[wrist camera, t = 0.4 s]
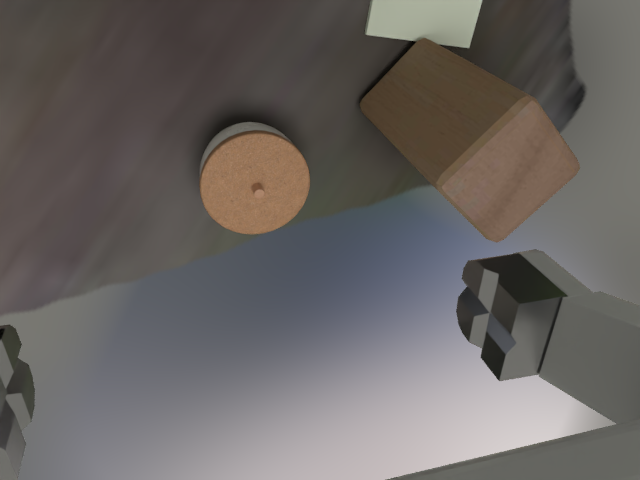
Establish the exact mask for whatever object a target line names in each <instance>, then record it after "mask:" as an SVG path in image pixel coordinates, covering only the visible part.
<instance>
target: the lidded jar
mask: <svg viewBox="0 0 640 480" xmlns="http://www.w3.org/2000/svg"><path fill="white" fill-rule="evenodd" d="M199 179H200V185H199V187H200V194H201V198H202V201H203V204H204V206H205V208H206V210H207V212H208V213H209V214H210V216H211V217H212V218H213V219H214V220H215V221H216V222H217V223H219V224H220V225H222V226H223V227H225V228H227V229H229V230H231V231H234V232H238V233H243V234H260V233H266V232H269V231H272V230H275V229H277V228H279V227H281V226H283V225H284V224H286V223H287V222H289V221H290V220H291V219H292V218H293V217H294V216H295V215H296V214H297V213H298V212H299V211H300V209H301V208H302V206H303V205H304V203H305V200H306V198H307V195H308V192H309V186H310V174H309V169H308V166H307V163H306V161H305V159H304V157H303V155H302V154H301V152H300V151H299V150H298V149H297V147H296V146H295V145H294V144H293V143H292V142H291V141H290V140H289V138H287V137H286V136H285V135H284V134H282V133H281V132H280V131H278V130H277V129H275V128H273V127H271V126H268V125H266V124H262V123H257V122H243V123H238V124H234V125H232V126H229V127H227V128H225V129H224V130H222V131H220V132H219V133H218V134H217V135H216V136H215V137H214V138H213V139H212V140H211V141H210V142H209V144H208V146H207V147H206V149H205V151H204V154H203V156H202V159H201V164H200V173H199Z"/></svg>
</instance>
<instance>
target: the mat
mask: <svg viewBox="0 0 640 480" xmlns="http://www.w3.org/2000/svg"><path fill="white" fill-rule="evenodd" d="M481 4H482V0H371V1H370V6H369V11H368V17H367V22H366V27H365V33H364V34H366V35H371V36H379V37H387V38H394V39H402V40H410V41H418V40H420V39H422V38H427V39H429V40H431V41H433V42H435V43H436V44H441V45H448V46H456V47H464V48H469V47H470V43H471V39H472V36H473V32H474V29H475V25H476V21H477V18H478V14H479V11H480V7H481Z"/></svg>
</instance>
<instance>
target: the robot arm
mask: <svg viewBox="0 0 640 480" xmlns="http://www.w3.org/2000/svg"><path fill="white" fill-rule="evenodd" d="M462 280H463V281H464V283H465V284H466V286H467V287H466V288H465V290H464V291H463V292H462V293H461V294H460V296H459V297H458V303H457V309H456V312H457V317H458V324H459V326H460V329H461V331H462V333H463V334H464V336H465V337H466V339H467V340H468V341H469V342H470V343H472V344H474V345H476V346H478V347H480V348H482V352H481V358H482V360H483V361H484V362H485V363H486V365H487V366H488V367H489V369H490V370H491V371H492V373H493V374H494V375H495V376H496V378H497V379H498V380H499V381H503V380H509V379H515V378H521V377H526V376H532V375H538V374H539V377H541V378H542V379H544V380H546V381H547V382H549V383H550V384H552V385H554V386H556V387H557V388H559V389H560V390H562V391H564V392H565V393H567V394H569V395H570V396H572V397H574V398H575V399H577V400H579V401H580V402H582V403H583V404H585V405H587V406H588V407H590V408H592V409H593V410H595V411H597V412H598V413H600V414H602V415H603V416H605V417H607V418H608V419H610V420H612V421H613V422H615V423H616V425H612V426H608V427H604V428H599V429H595V430H591V431H587V432H583V433H579V434H575V435H570V436H566V437H562V438H558V439H554V440H549V441H545V442H541V443H537V444H533V445H529V446H524V447H520V448H516V449H512V450H508V451H504V452H499V453H495V454H491V455H487V456H483V457H479V458H474V459H471V460H466V461H462V462H458V463H454V464H449V465H445V466H441V467H437V468H433V469H428V470H425V471H420V472H416V473H412V474H408V475H403V476H400V477H395V478H391V479H387V480H640V305H637V304H634V303H632V302H629V301H626V300H623V299H620V298H617V297H614V296H611V295H608V294H606V293H603V292H594V293H593V292H592V291H591V290H590V289H588V288H587V287H586V286H585V285H583V284H582V283H581V282H580V281H578V280H577V279H576V278H575V277H574V276H572V275H571V274H570V273H568V272H567V271H566V270H565V269H564V268H563V267H561V266H560V265H559V264H558V263H557V262H555V261H554V260H553V259H552V258H550V257H549V256H548V255H547V254H545V253H544V252H543V251H539V250H536V249H535V250H529V251H524V252H518V253H513V254H510V255H503V256H497V257H490V258H483V259H477V260H471V261H468V262H467V264H466V265H465V267H464V270H463V275H462ZM21 345H22V344H21V341H20V338H19V336H18V333H17V331H16V329H15V328H14V327H13V326H11V325H3V326H0V480H17V479H18V475H19V471H20V467H21V462H22V458H23V455H24V451H25V446H26V442H25V440H24V437H23V434H22V430H23V429H24V428H25V427H26V426H27V425H28V424H29V423H30V422H31V421H32V417H33V411H34V406H35V388H34V382H33V377H32V373H31V370H30V367H29V365H28V364H26V363H25V362H23V361H22V360H20V359H19V358H18V355H19V352H20V348H21Z"/></svg>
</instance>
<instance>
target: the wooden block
mask: <svg viewBox="0 0 640 480" xmlns="http://www.w3.org/2000/svg"><path fill="white" fill-rule="evenodd" d="M360 108H361V111H362V113H363V114H364V115H365V116H366V117H367V118H368V119H369V120H370V121H371V122H372V123H373V124H374V125H375V126H376V127H377V128H378V129H379V130H380V131H381V132H382V133H383V134H384V135H385V136H386V137H387V139H388V140H389V141H390V142H391V143H392V144H393V145H394V146H395V147H396V148H397V149H398V150H399V151H400V152H401V153H402V154H403V155H404V156H405V157H406V158H407V159H408V160H409V161H410V162H411V163H412V164H413V165H414V166H415V167H416V169H417V170H418V171H419V172H420V173H421V174H422V175H423V176H424V177H425V178H426V179H427V180H428V181H429V182H430V183H431V184H432V185H433V186H434V187H435V188H436V189H437V190H438V191H439V192H440V193H441V194H442V195H443V196H444V197H445V198H446V199H447V200H448V201H449V202H450V203H451V204H452V205H453V206H454V207H455V208H456V209H457V210H458V211H459V212H460V213H461V214H462V215H463V216H464V217H465V218H466V219H467V220H468V221H469V222H470V223H471V224H472V225H473V226H474V227H475V228H476V229H477V230H478V231H479V232H480V233H481V234H482V235H483V236H484V237H485V238H486V239H488V240H491V241H494V242H499V241H501V240H504V239H505V238H506V237H507V236H508V235H509V234H510V233H511V232H513V231H514V230H515V229H516V228H517V227H518V226H519V225H520V224H522V223H523V222H524V221H525V220H526V219H527V218H528V217H529V216H530V215H532V214H533V213H534V212H535V211H536V210H537V209H538V208H539V207H541V206H542V205H543V204H544V203H545V202H546V201H547V200H548V199H549V198H551V197H552V196H553V195H554V194H555V193H556V192H557V191H558V190H560V189H561V188H562V187H563V186H564V185H565V184H566V183H567V182H568V181H570V180H571V179H572V178H573V177H574V176H575V175H576V174H577V172H578V171H579V169H580V166H579V162H578V160H577V158H576V157H575V155H574V154H573V152H572V151H571V150H570V148H569V146H568V145H567V144H566V142H565V141H564V139H563V138H562V136H561V135H560V133H559V132H558V131H557V129H556V128H555V126H554V125H553V123H552V122H551V120H550V119H549V117H548V116H547V115H546V113H545V112H544V110H543V109H542V107H541V106H540V104H539V103H538V102H537V100H536V99H535V98H534V97H532V96H530V95H528V94H527V93H525V92H523V91H521V90H519V89H518V88H516V87H514V86H512V85H510V84H509V83H507V82H505V81H503V80H501V79H500V78H498V77H496V76H494V75H492V74H491V73H489V72H487V71H485V70H483V69H482V68H480V67H478V66H476V65H474V64H473V63H471V62H469V61H467V60H465V59H464V58H462V57H460V56H458V55H456V54H455V53H453V52H451V51H449V50H447V49H446V48H444V47H442V46H440V45H438V44H436V43H435V42H433V41H431V40H429V39H427V38H422V39H420V40H418V41H417V42H416V43H415V44H414V45H413V46H412V47H411V48H410V49H409V50H408V51H407V52H406V53H405V54H404V55H403V57H402V58H401V59H400V60H399V61H398V62H397V63H396V64H395V65H394V66H393V67H392V68H391V69H390V70H389V71H388V72H387V73H386V74H385V75H384V76H383V78H382V79H381V80H380V81H379V82H378V83H377V84H376V85H375V86H374V87H373V88H372V89H371V90H370V91H369V92H368V93H367V94H366V95H365V96H364V98H363V99H362V100H361V102H360Z"/></svg>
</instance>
